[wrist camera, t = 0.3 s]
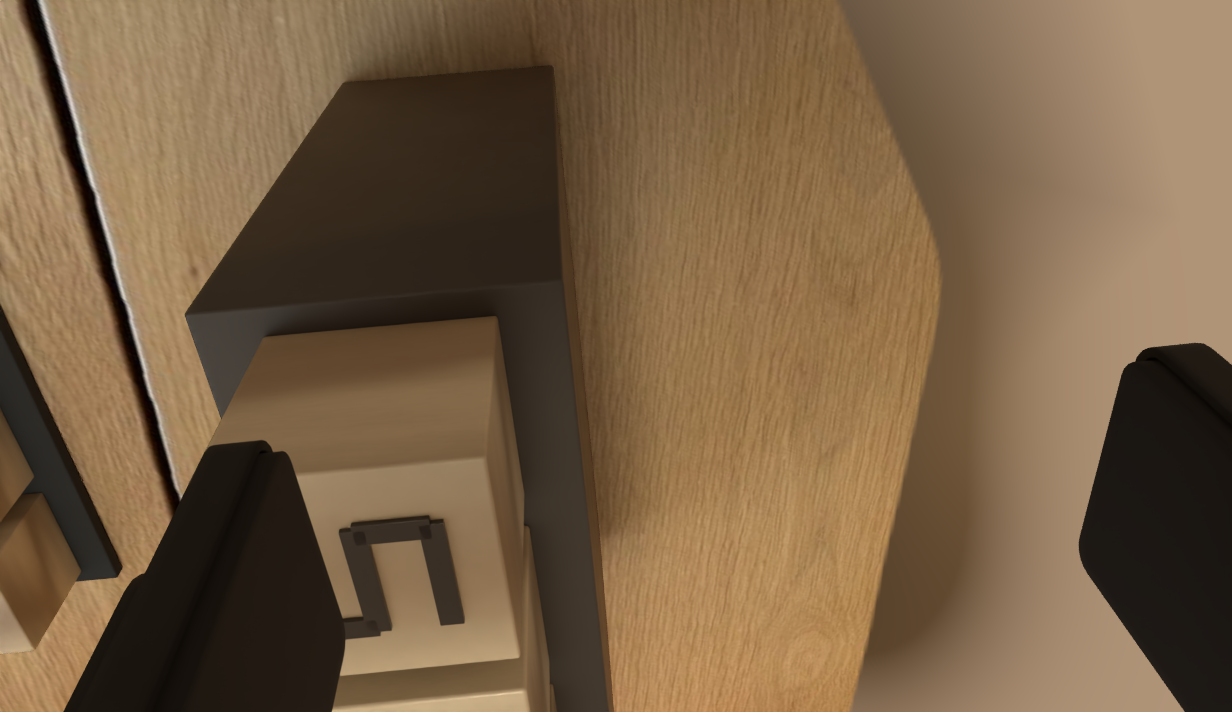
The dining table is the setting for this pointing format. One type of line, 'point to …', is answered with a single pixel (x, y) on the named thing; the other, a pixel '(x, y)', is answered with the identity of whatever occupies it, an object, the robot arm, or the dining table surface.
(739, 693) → the dining table surface
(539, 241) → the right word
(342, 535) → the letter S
